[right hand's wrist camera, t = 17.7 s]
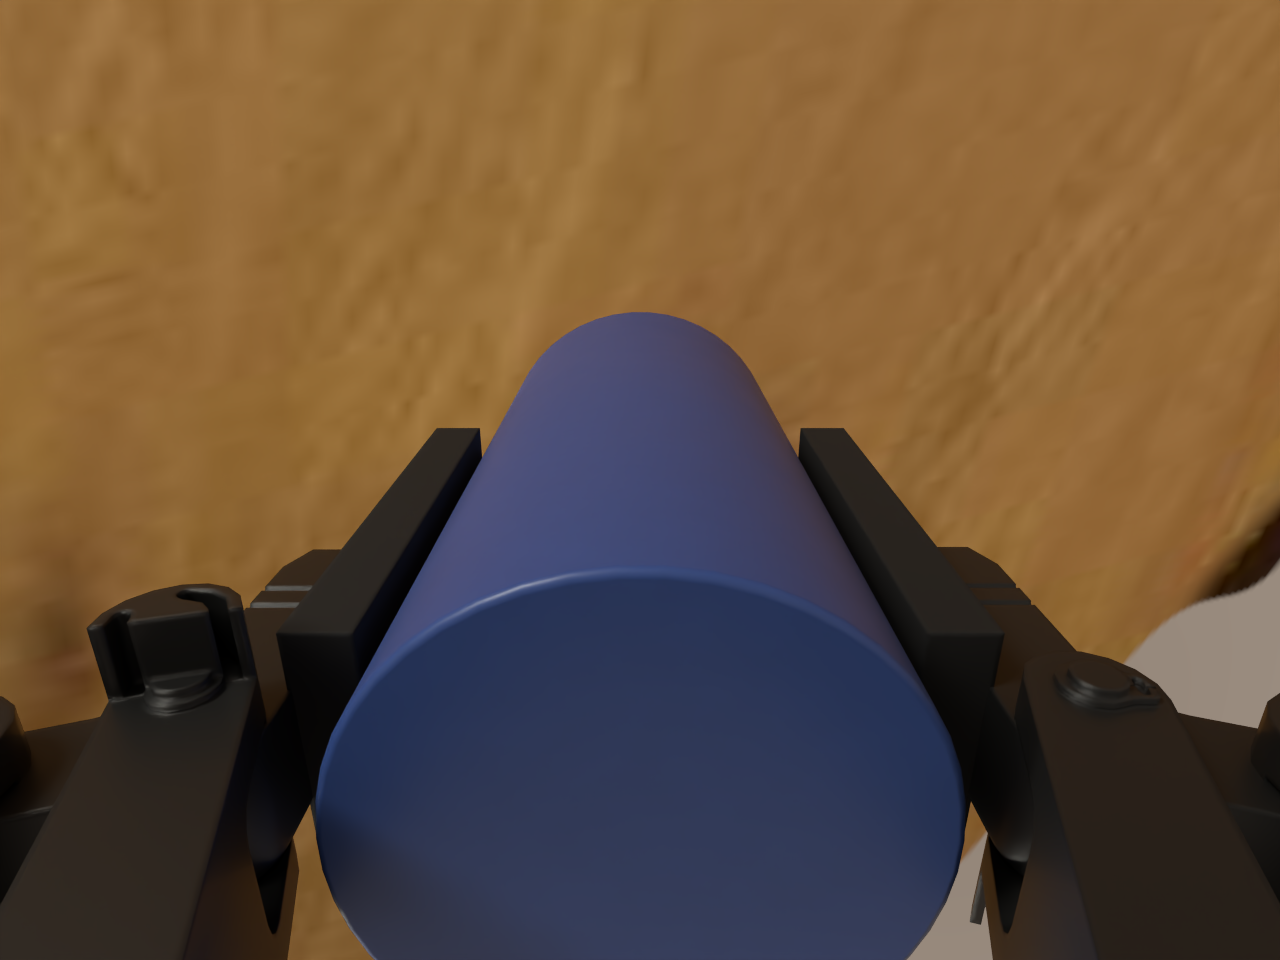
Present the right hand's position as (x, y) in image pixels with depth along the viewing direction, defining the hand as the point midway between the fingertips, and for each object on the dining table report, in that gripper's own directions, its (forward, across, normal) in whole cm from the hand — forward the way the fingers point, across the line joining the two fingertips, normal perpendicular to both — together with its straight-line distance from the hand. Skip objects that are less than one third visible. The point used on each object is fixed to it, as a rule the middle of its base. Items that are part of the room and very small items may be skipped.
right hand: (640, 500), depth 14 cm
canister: (+3, 0, 0) cm, 3 cm away
